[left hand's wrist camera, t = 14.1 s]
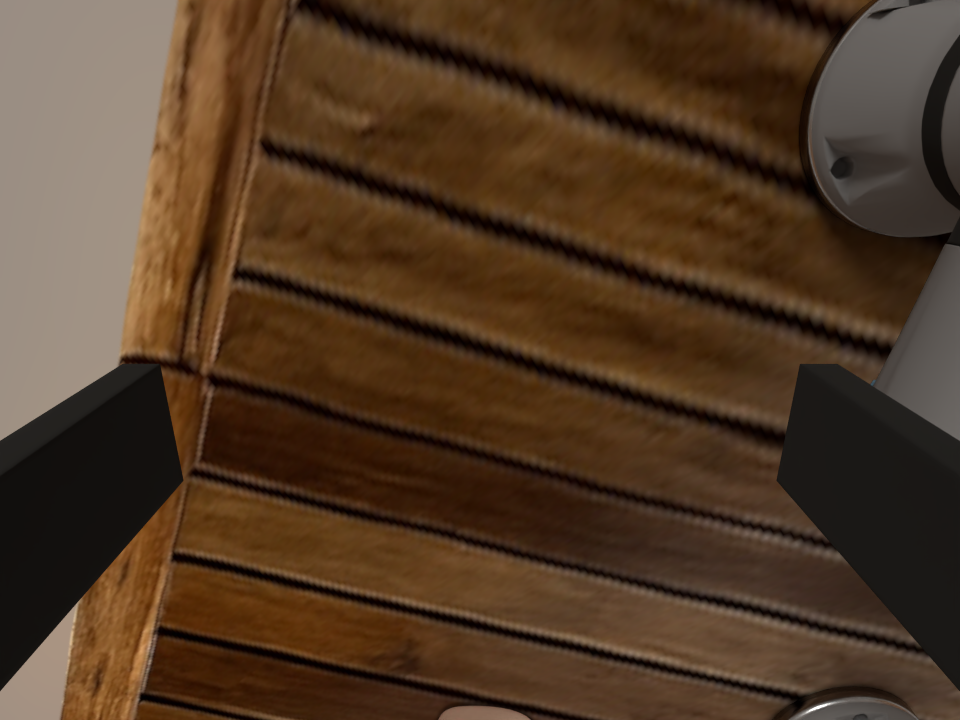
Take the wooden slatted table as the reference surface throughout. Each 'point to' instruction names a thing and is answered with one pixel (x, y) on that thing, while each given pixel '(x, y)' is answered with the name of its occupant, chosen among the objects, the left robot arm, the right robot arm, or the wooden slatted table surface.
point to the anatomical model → (481, 713)
